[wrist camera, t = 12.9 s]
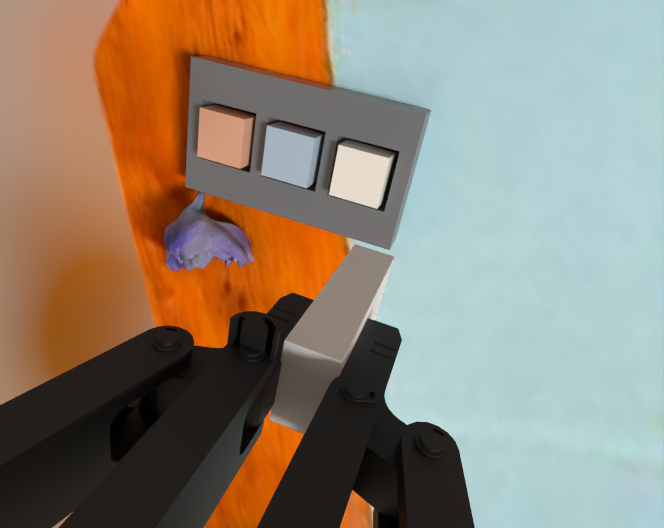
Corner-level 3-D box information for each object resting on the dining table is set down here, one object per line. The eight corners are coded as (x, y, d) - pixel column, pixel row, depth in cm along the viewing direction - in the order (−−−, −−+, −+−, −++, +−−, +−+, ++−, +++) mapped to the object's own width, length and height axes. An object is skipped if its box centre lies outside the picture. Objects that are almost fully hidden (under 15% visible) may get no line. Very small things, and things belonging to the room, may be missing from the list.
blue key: (279, 121, 42) (267, 125, 40) (324, 133, 41) (314, 138, 39) (273, 168, 44) (261, 175, 42) (316, 181, 43) (306, 188, 41)
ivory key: (347, 139, 41) (338, 144, 39) (395, 152, 40) (389, 158, 38) (337, 187, 43) (328, 194, 41) (383, 200, 42) (377, 208, 40)
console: (209, 56, 43) (190, 56, 41) (431, 110, 39) (426, 114, 37) (201, 179, 49) (185, 186, 46) (395, 238, 45) (389, 249, 42)
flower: (124, 189, 44) (150, 289, 42) (209, 159, 44) (240, 257, 42) (166, 217, 53) (189, 299, 51) (237, 191, 53) (263, 273, 51)
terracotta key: (215, 104, 43) (199, 107, 41) (258, 115, 43) (244, 119, 40) (212, 151, 45) (197, 156, 43) (253, 162, 45) (239, 168, 42)
